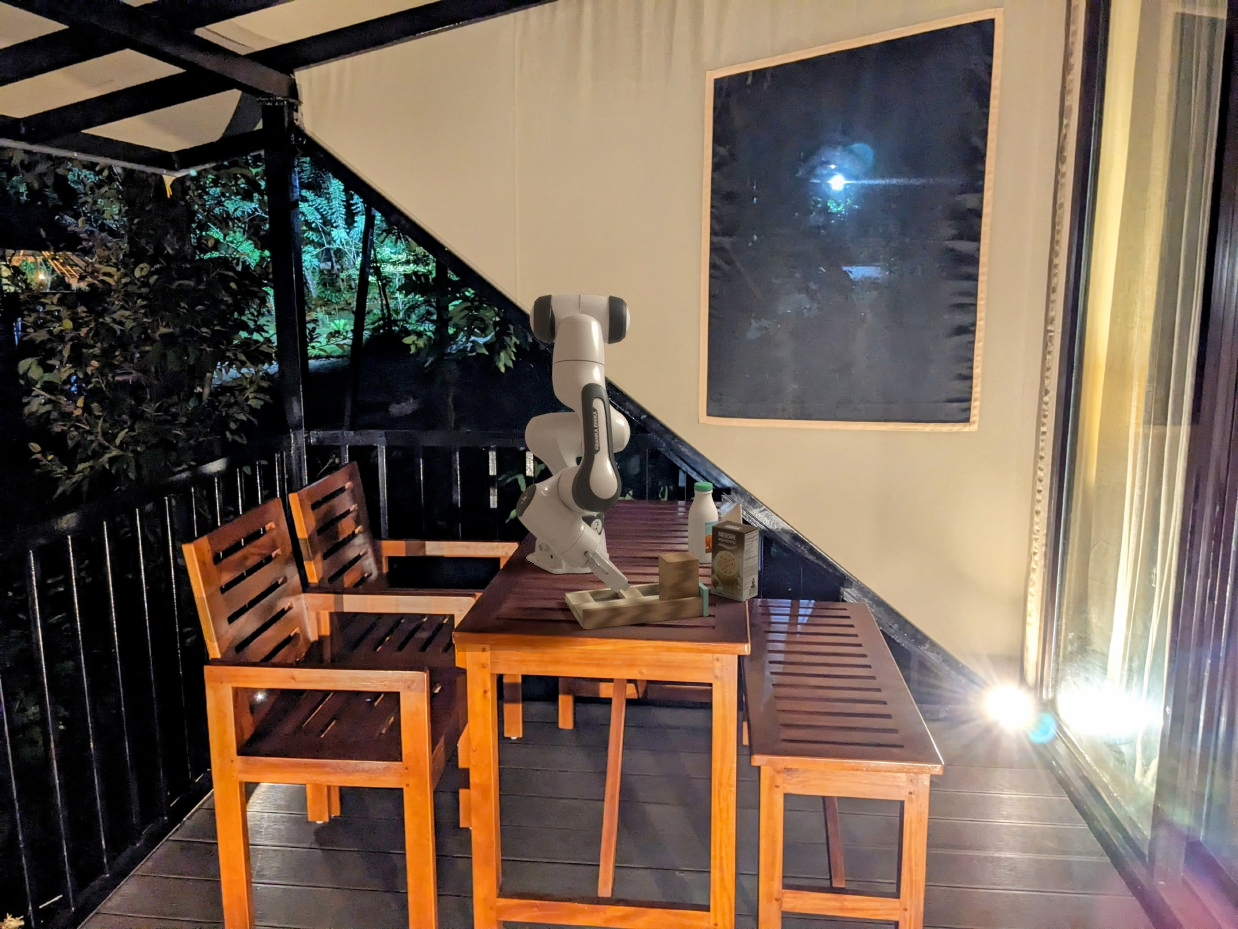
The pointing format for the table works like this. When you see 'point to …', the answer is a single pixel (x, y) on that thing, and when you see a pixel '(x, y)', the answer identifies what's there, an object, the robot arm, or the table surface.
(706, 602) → the end stop
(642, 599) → the board
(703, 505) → the milk bottle
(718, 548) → the coffee box
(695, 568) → the walnut block
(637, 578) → the table surface
